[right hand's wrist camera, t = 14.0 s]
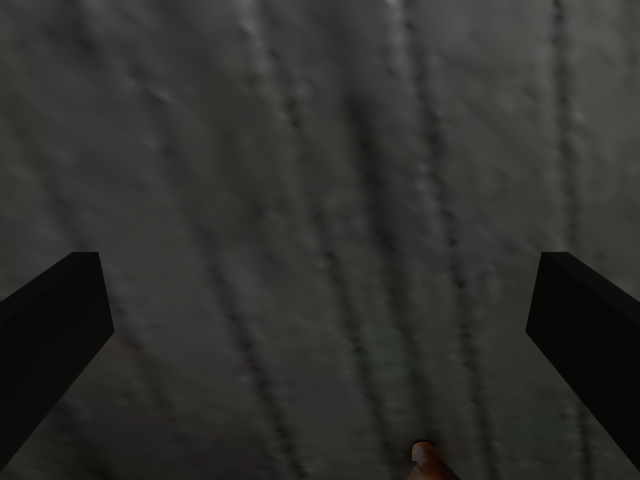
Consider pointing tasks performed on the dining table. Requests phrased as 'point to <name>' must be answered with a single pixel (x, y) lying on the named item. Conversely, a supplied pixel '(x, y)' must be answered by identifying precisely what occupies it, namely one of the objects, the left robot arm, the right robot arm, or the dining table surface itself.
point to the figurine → (429, 464)
